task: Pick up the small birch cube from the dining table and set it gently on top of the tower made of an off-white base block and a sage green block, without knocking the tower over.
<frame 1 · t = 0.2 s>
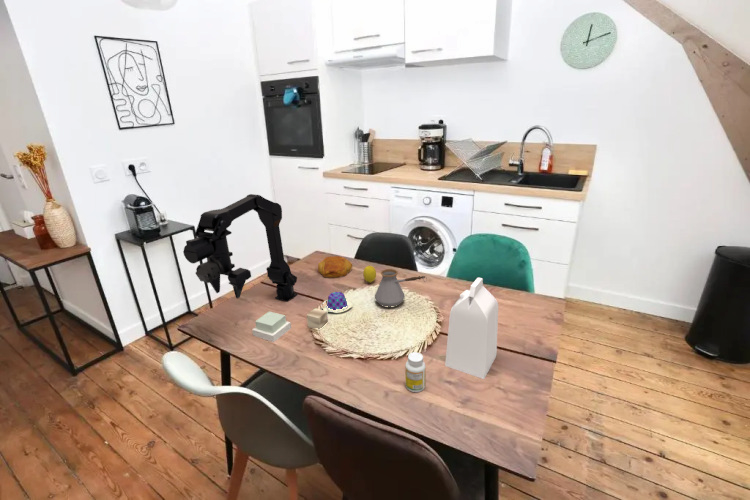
hand: (227, 295, 126), 14 cm above the table, tool pointing down, fingers open, 9 cm apart
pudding: (337, 307, 146), on the table
lemon: (370, 283, 164), on the table
base block: (272, 333, 131), on the table, touching sage green block
milk: (471, 361, 114), on the table
coffee pot: (400, 306, 145), on the table
sage green block: (271, 325, 130), point 2 cm above the table, touching base block
birch cube: (318, 325, 134), on the table
croissant: (334, 272, 176), on the table
supplement bottle: (415, 386, 104), on the table
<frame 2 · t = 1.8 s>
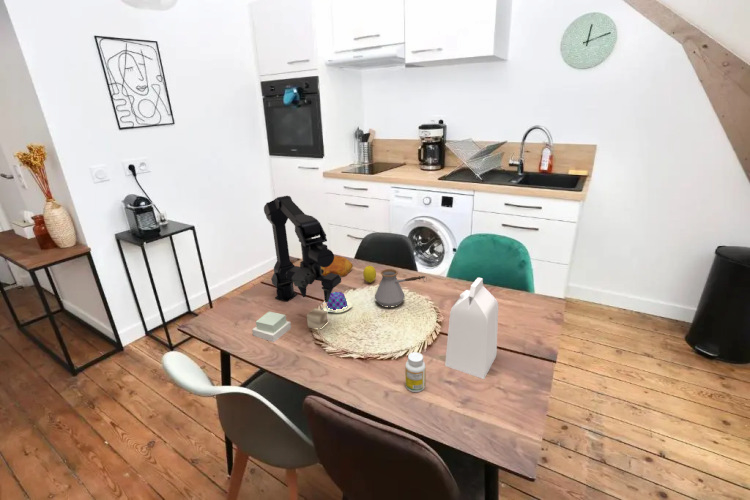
hand: (315, 299, 131), 10 cm above the table, tool pointing down, fingers open, 9 cm apart
nothing on the table moved.
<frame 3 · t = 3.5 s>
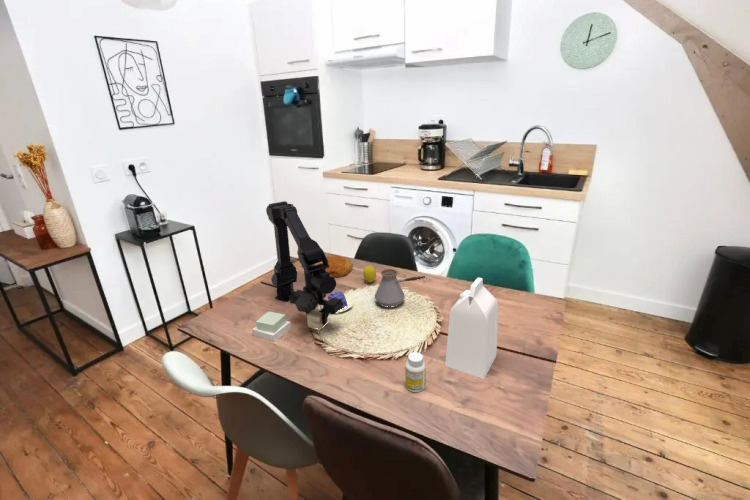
hand: (317, 322, 134), 1 cm above the table, tool pointing down, fingers closed on birch cube, 5 cm apart
birch cube: (318, 325, 134), on the table, touching gripper
everything else where it was.
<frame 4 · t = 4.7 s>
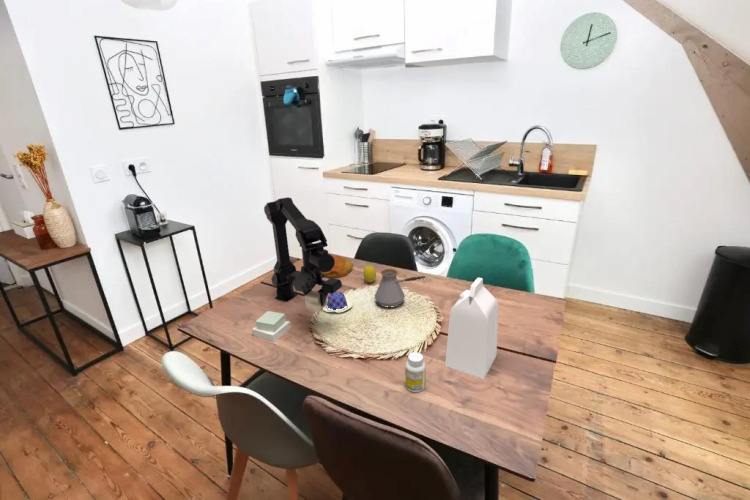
hand: (316, 304, 131), 8 cm above the table, tool pointing down, fingers closed on birch cube, 5 cm apart
base block: (272, 332, 132), on the table
sage green block: (271, 325, 131), point 2 cm above the table
birch cube: (316, 306, 131), point 7 cm above the table, touching gripper
everything else where it was.
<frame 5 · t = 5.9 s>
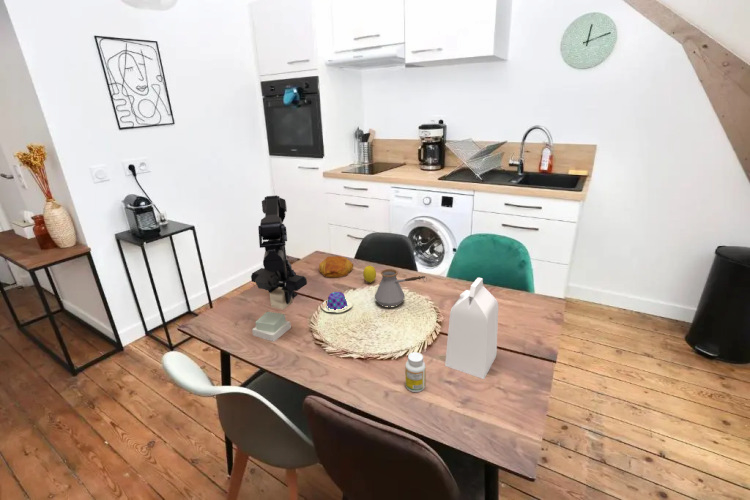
hand: (281, 302, 128), 11 cm above the table, tool pointing down, fingers closed on birch cube, 5 cm apart
birch cube: (282, 304, 128), point 10 cm above the table, touching gripper
everything else where it was.
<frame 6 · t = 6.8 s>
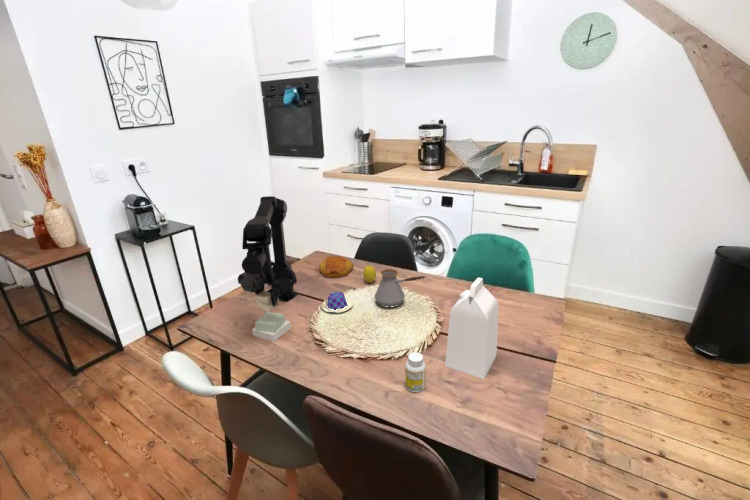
hand: (268, 304, 127), 11 cm above the table, tool pointing down, fingers closed on birch cube, 5 cm apart
birch cube: (268, 307, 128), point 10 cm above the table, touching gripper
everything else where it was.
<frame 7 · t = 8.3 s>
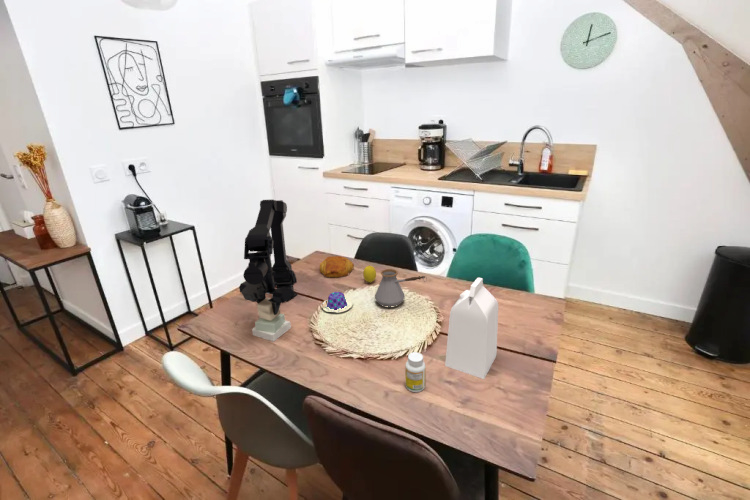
hand: (269, 312, 129), 7 cm above the table, tool pointing down, fingers closed on birch cube, 5 cm apart
birch cube: (269, 315, 129), point 6 cm above the table, touching gripper
everything else where it was.
when the fingers open (7 cm above the table, at t = 8.8 s): birch cube moves 1 cm, resting on sage green block.
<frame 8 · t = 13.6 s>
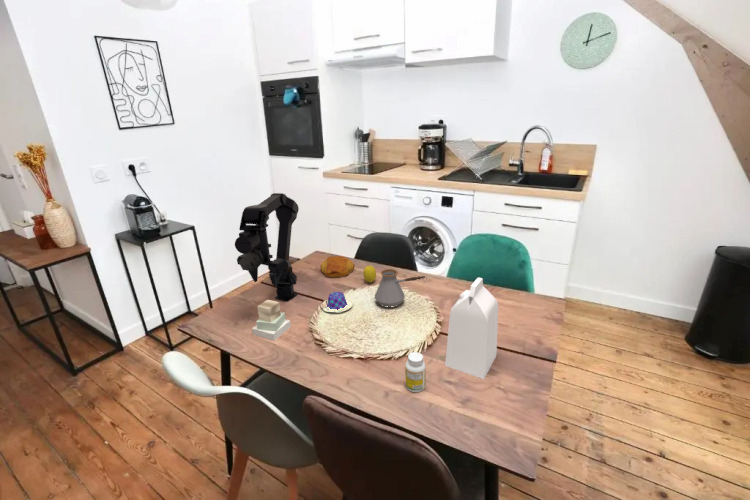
hand: (265, 283, 137), 13 cm above the table, tool pointing down, fingers open, 9 cm apart
base block: (272, 331, 132), on the table, touching sage green block
sage green block: (271, 324, 131), point 2 cm above the table, touching base block, birch cube
birch cube: (270, 317, 130), point 5 cm above the table, touching sage green block
at the end: birch cube 0.2 cm off-centre on the sage green block, point 3.0 cm above the sage green block's base; sage green block 0.2 cm off-centre on the base block, point 3.0 cm above the base block's base; birch cube tilted 0° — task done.
